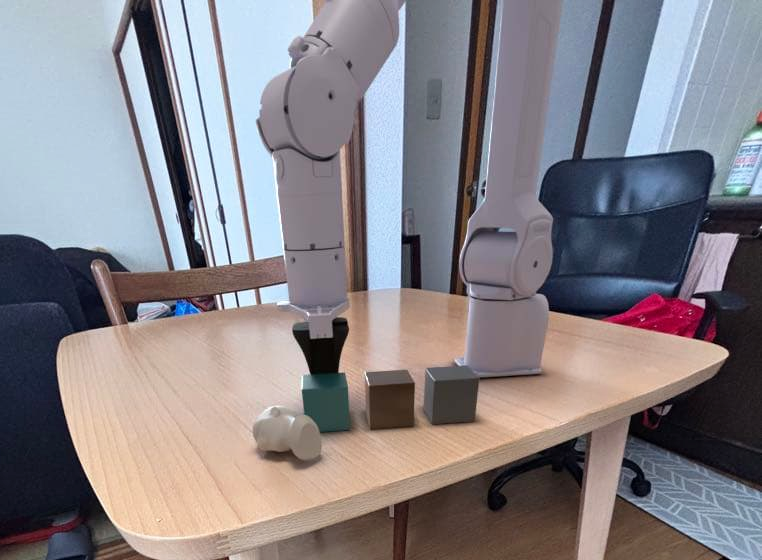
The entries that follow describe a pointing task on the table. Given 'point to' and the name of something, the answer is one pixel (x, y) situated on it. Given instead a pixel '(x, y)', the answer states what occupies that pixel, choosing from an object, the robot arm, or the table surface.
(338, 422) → the teal block
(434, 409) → the grey block
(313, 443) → the smooth white sculpture
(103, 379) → the table surface
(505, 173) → the robot arm
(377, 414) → the walnut block
